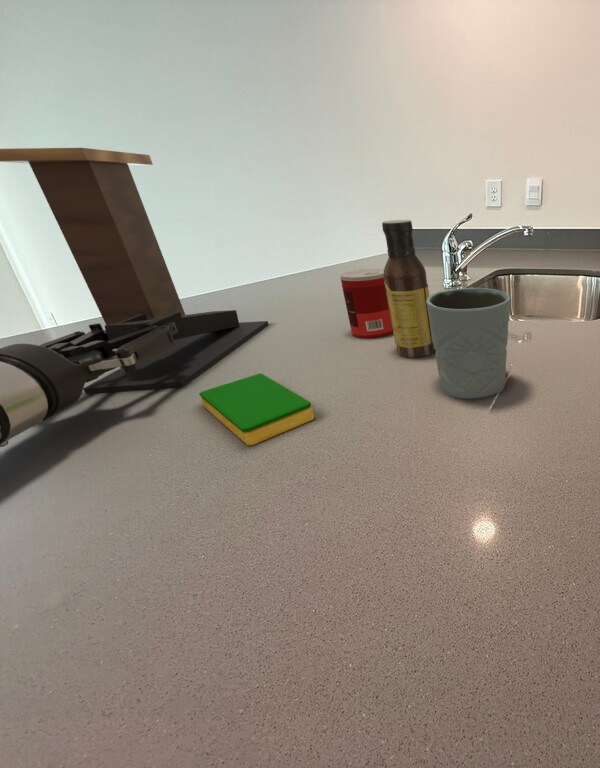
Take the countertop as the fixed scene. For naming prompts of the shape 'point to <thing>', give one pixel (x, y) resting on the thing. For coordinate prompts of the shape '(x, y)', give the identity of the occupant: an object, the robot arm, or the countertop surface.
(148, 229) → the stand
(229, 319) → the long black bar
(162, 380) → the black base pad
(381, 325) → the canned food
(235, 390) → the dish sponge
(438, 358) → the grey cup
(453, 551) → the countertop surface
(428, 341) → the sauce bottle
